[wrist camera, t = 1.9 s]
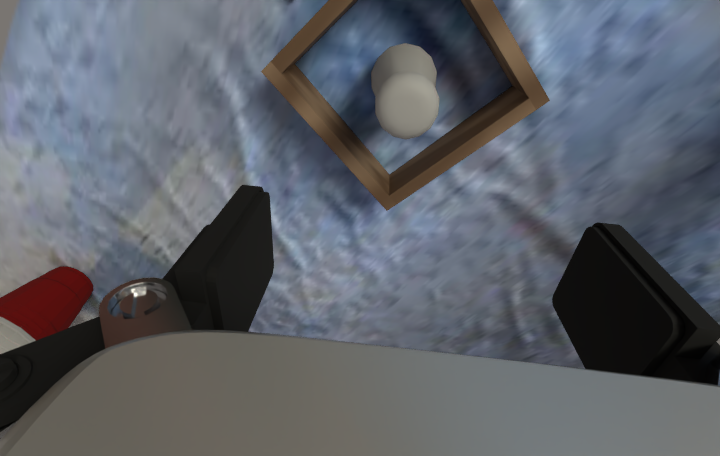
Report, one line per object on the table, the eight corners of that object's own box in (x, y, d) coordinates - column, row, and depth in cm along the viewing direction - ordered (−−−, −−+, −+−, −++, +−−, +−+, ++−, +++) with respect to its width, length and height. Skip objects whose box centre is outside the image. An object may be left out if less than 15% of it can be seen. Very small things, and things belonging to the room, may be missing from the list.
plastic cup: (21, 245, 50) (-74, 308, 40) (99, 257, 50) (25, 323, 40) (47, 302, 56) (-30, 370, 46) (117, 313, 56) (56, 383, 46)
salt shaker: (414, 115, 37) (423, 167, 26) (362, 90, 36) (348, 132, 25) (445, 57, 34) (471, 88, 23) (389, 28, 33) (387, 45, 22)
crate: (530, 87, 34) (549, 100, 30) (387, 188, 41) (386, 210, 37) (425, -92, 28) (430, -108, 24) (277, 62, 35) (261, 71, 31)
